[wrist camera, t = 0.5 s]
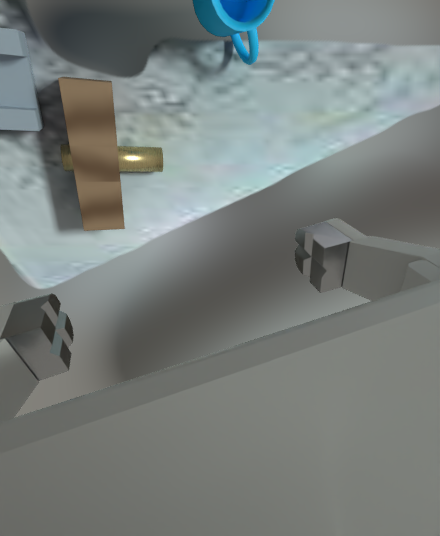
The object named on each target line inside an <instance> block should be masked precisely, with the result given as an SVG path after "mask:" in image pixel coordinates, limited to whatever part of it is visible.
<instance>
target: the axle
mask: <svg viewBox="0 0 440 536" xmlns="http://www.w3.org/2000/svg"><path fill="white" fill-rule="evenodd" d="M117 148H118V160H119V171H129V172H162V171H163V153H162V148H158V147H127V146H117ZM61 157H62V163H63V167H64V170H65V171H74V168H73V162H72V156H71V151H70V145H63V144H61Z"/></svg>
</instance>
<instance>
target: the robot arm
mask: <svg viewBox="0 0 440 536" xmlns="http://www.w3.org/2000/svg"><path fill="white" fill-rule="evenodd" d="M295 241H296V242H297V243H298V244H299V245H298V247H297V248H296V250H295V262H296V266H297V268H298V270H299V271H300V272H301V273H302V274H303V275H305V276H308V277H310V283H311V284H312V285H313V286H314V287H315V288H316V289H317V290H318V291H319V292H320V293H322V292H326V291H329V290H333V289H336V288H340V287H342V288H344V289H346V290H348V291H350V292H353V293H355V294H357V295H359V296H362V297H364V298H366V299H369V300H371V302H368V303H365V304H362V305H359V306H355V307H352V308H349V309H347V310H343V311H341V312H337V313H334V314H331V315H328V316H325V317H322V318H319V319H316V320H312V321H310V322H306V323H304V324H300V325H297V326H294V327H291V328H288V329H285V330H282V331H279V332H276V333H273V334H269V335H266V336H263V337H260V338H257V339H254V340H251V341H248V342H245V343H242V344H239V345H236V346H233V347H230V348H227V349H224V350H221V351H218V352H215V353H212V354H209V355H205V356H202V357H199V358H196V359H193V360H190V361H187V362H184V363H181V364H178V365H175V366H172V367H169V368H166V369H162V370H159V371H156V372H153V373H151V374H147V375H144V376H141V377H138V378H135V379H132V380H129V381H126V382H123V383H120V384H116V385H114V386H110V387H107V388H104V389H101V390H98V391H95V392H92V393H89V394H86V395H83V396H80V397H77V398H74V399H70V400H67V401H64V402H61V403H58V404H55V405H52V406H49V407H46V408H43V409H40V410H37V411H34V412H30V413H27V414H24V415H21V416H18V417H15V418H14V416H15V415H16V414H17V413H18V411H19V410H20V408H21V407H22V406H23V404H24V403H25V401H26V400H27V399H28V397H29V396H30V394H31V393H32V391H33V390H34V389H35V387H36V386H37V385H38V383H39V381H40V380H42V379H46V378H49V377H51V376H54V375H58V374H61V373H64V372H67V371H69V367H70V360H71V352H70V350H69V349H68V348H69V346H70V345H71V344H72V343H73V336H74V334H73V327H72V324H71V321H70V319H69V317H68V315H67V314H66V313H64V312H62V311H59V310H60V305H61V303H60V301H59V300H58V298H57V297H56V295H54V294H52V293H51V294H47V295H43V296H39V297H35V298H31V299H26V300H22V301H18V302H13V303H10V304H6V305H3V306H0V536H440V249H438V248H432V247H427V246H422V245H417V244H412V243H406V242H401V241H396V240H390V239H385V238H380V237H375V236H369V237H367V236H365V235H364V234H362V233H360V232H359V231H357V230H356V229H354V228H353V227H351V226H350V225H348V224H346V223H345V222H343V221H342V220H340V219H336V218H334V219H331V220H328V221H324V222H322V223H318V224H315V225H311V226H308V227H304V228H301V229H297V231H296V234H295Z"/></svg>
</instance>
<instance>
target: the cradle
mask: <svg viewBox="0 0 440 536" xmlns="http://www.w3.org/2000/svg"><path fill="white" fill-rule="evenodd" d="M43 127H44V124H43V120H42V115H41V110H40V105H39V100H38V95H37V90H36V86H35V81H34V76H33V71H32V66H31V61H30V57H29V52H28V47H27V42H26V37H25V33H24V32H21V31H19V30H13V29H6V28H0V130H24V131H40V130H41V129H42V128H43Z"/></svg>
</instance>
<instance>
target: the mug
mask: <svg viewBox="0 0 440 536" xmlns="http://www.w3.org/2000/svg"><path fill="white" fill-rule="evenodd" d="M274 1H275V0H193V4H194V9H195V13H196V15H197V17H198V19H199V22H200V23H201V25H202V26H203V27H204V28H205V29H206V30H207V31H208V32H210V33H211V34H213V35H215V36H221V37H226V36H231V39H232V42H233V44H234V46H235V49H236V51H237V53H238V55H239V56H240V58H241V59H242V60H243V62H244V63H246V64H248V65H251V64H253V63H254V62H255V61H256V60H257V56H258V36H257V29H256V27H258V26H259V25H260V24H261V23H262V22H264V20H265V19H266V18H267V16H268V15H269V13H270V12H271V9H272V6H273V3H274ZM245 31H247V34H248V39H249V47H250V55H249V53H248V52H247V51H246V49H245V47H244V45H243V43H242V40H241V38H240V35H239V33H242V32H245Z"/></svg>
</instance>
